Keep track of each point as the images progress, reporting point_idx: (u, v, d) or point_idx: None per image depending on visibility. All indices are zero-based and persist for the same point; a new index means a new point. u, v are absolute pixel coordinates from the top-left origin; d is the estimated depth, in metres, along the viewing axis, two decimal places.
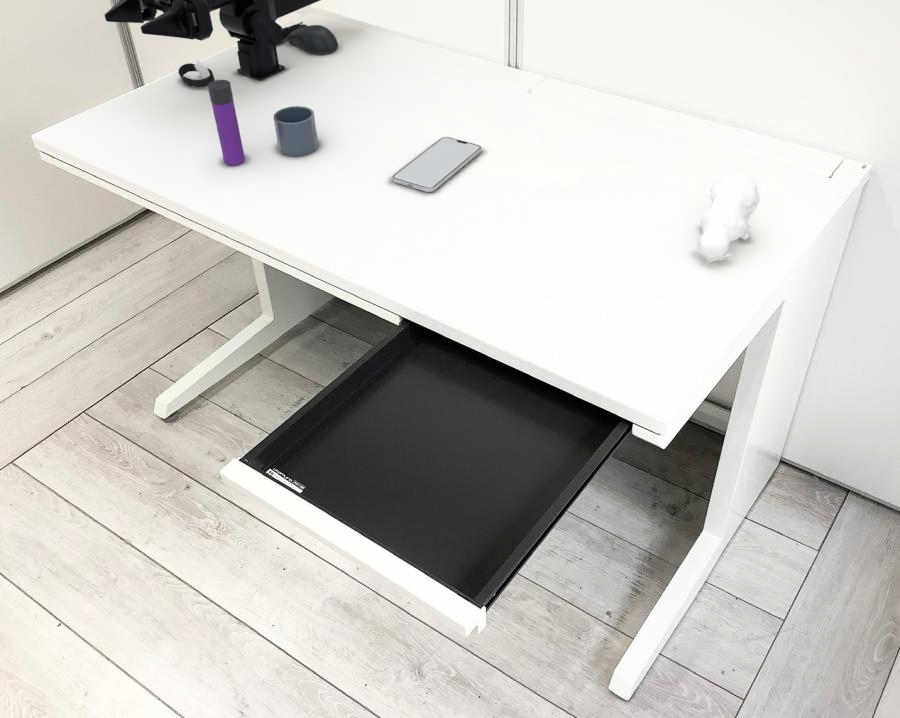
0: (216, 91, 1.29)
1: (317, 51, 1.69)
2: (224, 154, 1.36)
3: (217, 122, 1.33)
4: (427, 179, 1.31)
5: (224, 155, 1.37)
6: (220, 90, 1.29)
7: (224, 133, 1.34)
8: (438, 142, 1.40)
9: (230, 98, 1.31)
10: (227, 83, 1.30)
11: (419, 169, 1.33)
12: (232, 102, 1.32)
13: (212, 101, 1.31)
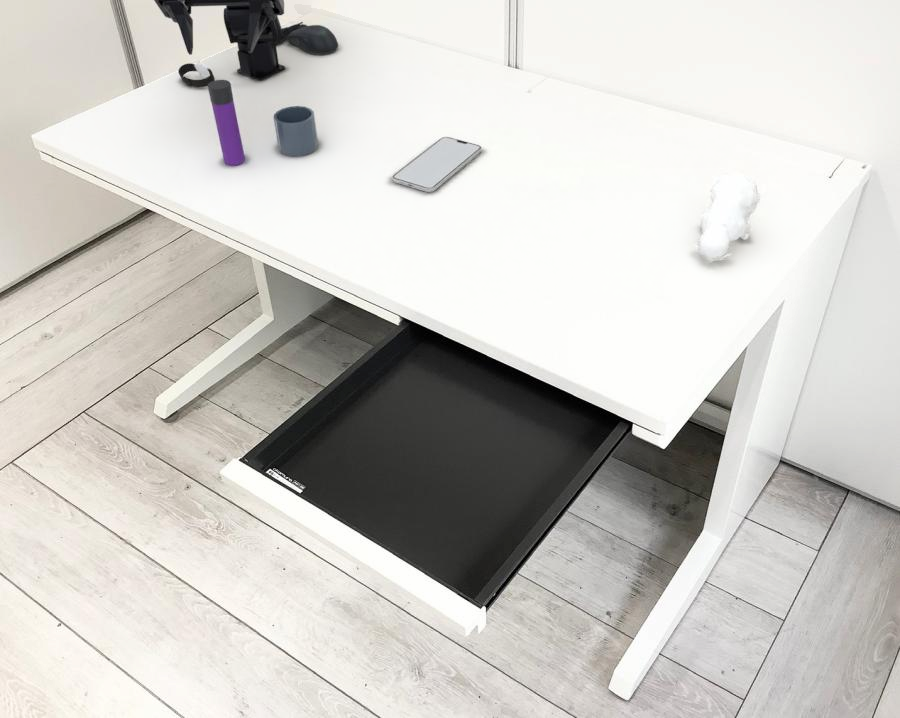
0: (216, 91, 1.29)
1: (317, 51, 1.69)
2: (224, 154, 1.36)
3: (217, 122, 1.33)
4: (427, 179, 1.31)
5: (224, 155, 1.37)
6: (220, 90, 1.29)
7: (224, 133, 1.34)
8: (438, 142, 1.40)
9: (230, 98, 1.31)
10: (227, 83, 1.30)
11: (419, 169, 1.33)
12: (232, 102, 1.32)
13: (212, 101, 1.31)
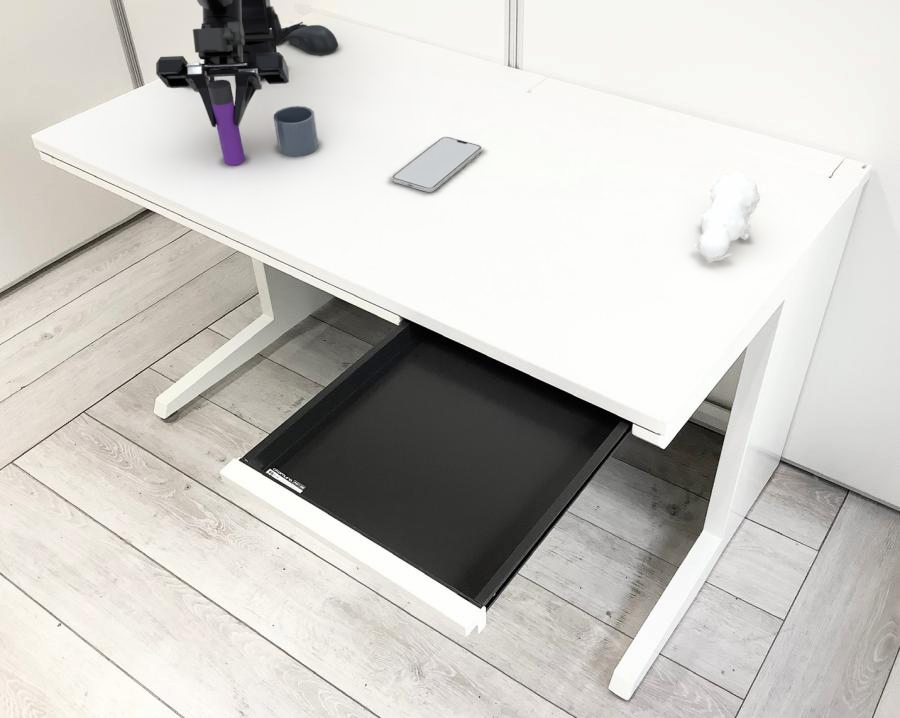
0: (216, 91, 1.29)
1: (317, 51, 1.69)
2: (224, 154, 1.36)
3: (217, 122, 1.33)
4: (427, 179, 1.31)
5: (224, 155, 1.37)
6: (220, 90, 1.29)
7: (224, 133, 1.34)
8: (438, 142, 1.40)
9: (230, 98, 1.31)
10: (227, 83, 1.30)
11: (419, 169, 1.33)
12: (232, 102, 1.32)
13: (212, 101, 1.31)
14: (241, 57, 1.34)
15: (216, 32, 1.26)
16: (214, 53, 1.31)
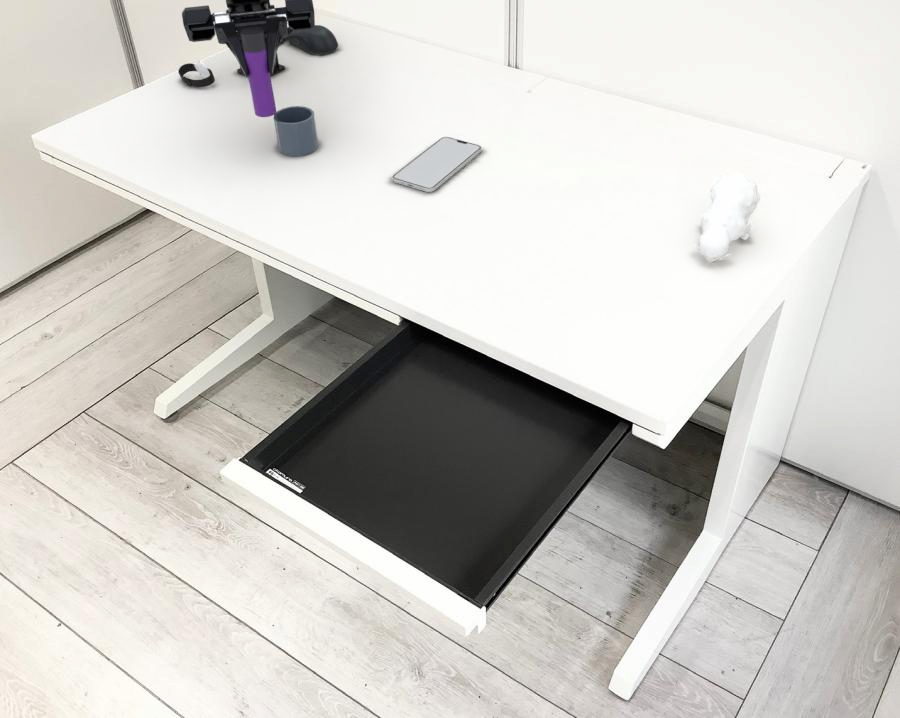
0: (251, 38, 1.26)
1: (317, 51, 1.69)
2: (257, 105, 1.33)
3: (250, 71, 1.30)
4: (427, 179, 1.31)
5: (257, 106, 1.33)
6: (255, 36, 1.26)
7: (258, 83, 1.31)
8: (438, 142, 1.40)
9: (264, 45, 1.28)
10: (260, 29, 1.27)
11: (419, 169, 1.33)
12: (265, 49, 1.29)
13: (246, 49, 1.28)
14: (267, 4, 1.31)
15: None
16: (242, 0, 1.28)
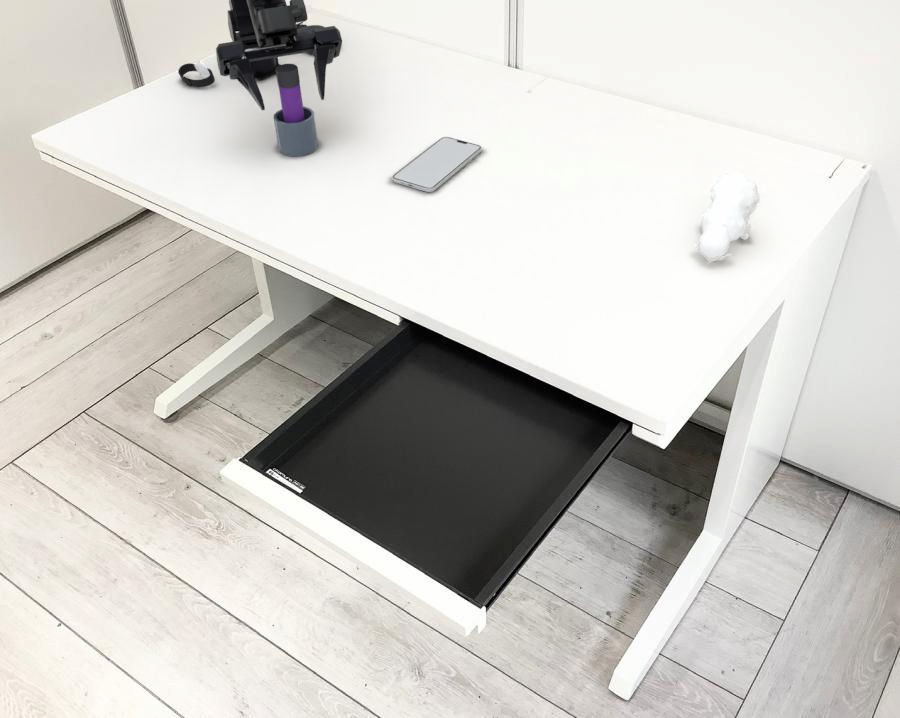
0: (287, 74, 1.32)
1: None
2: None
3: (286, 106, 1.35)
4: (427, 179, 1.31)
5: None
6: (292, 73, 1.32)
7: (293, 117, 1.36)
8: (438, 142, 1.40)
9: (298, 80, 1.34)
10: (294, 66, 1.33)
11: (419, 169, 1.33)
12: (299, 84, 1.35)
13: (282, 85, 1.33)
14: None
15: (285, 10, 1.28)
16: (273, 33, 1.33)
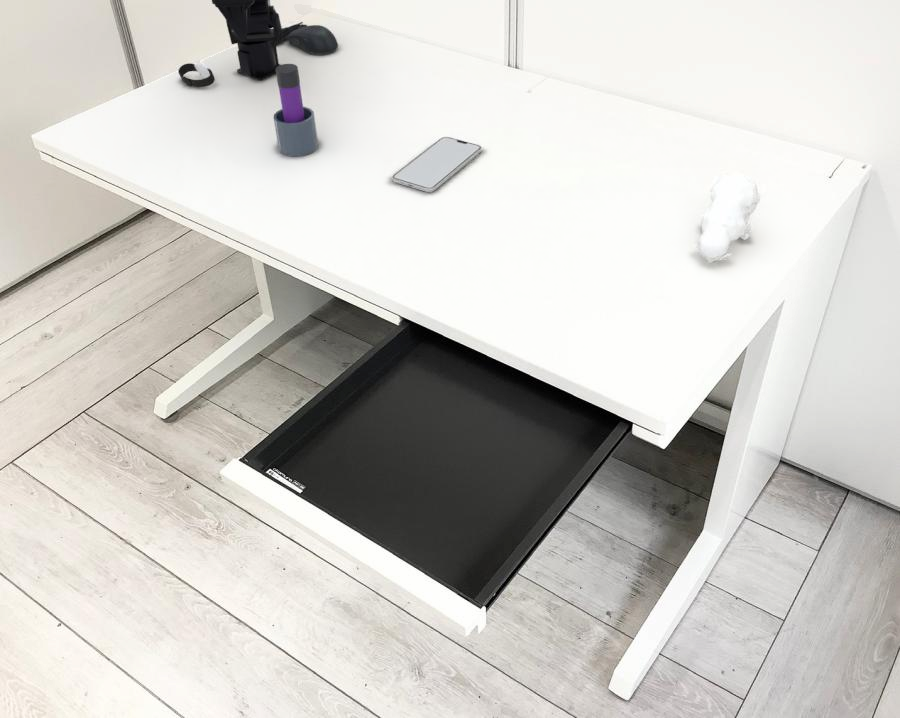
0: (287, 74, 1.32)
1: (317, 51, 1.69)
2: None
3: (286, 106, 1.35)
4: (427, 179, 1.31)
5: None
6: (292, 73, 1.32)
7: (293, 117, 1.36)
8: (438, 142, 1.40)
9: (298, 80, 1.34)
10: (294, 66, 1.33)
11: (419, 169, 1.33)
12: (299, 84, 1.35)
13: (282, 85, 1.33)
14: None
15: None
16: None
